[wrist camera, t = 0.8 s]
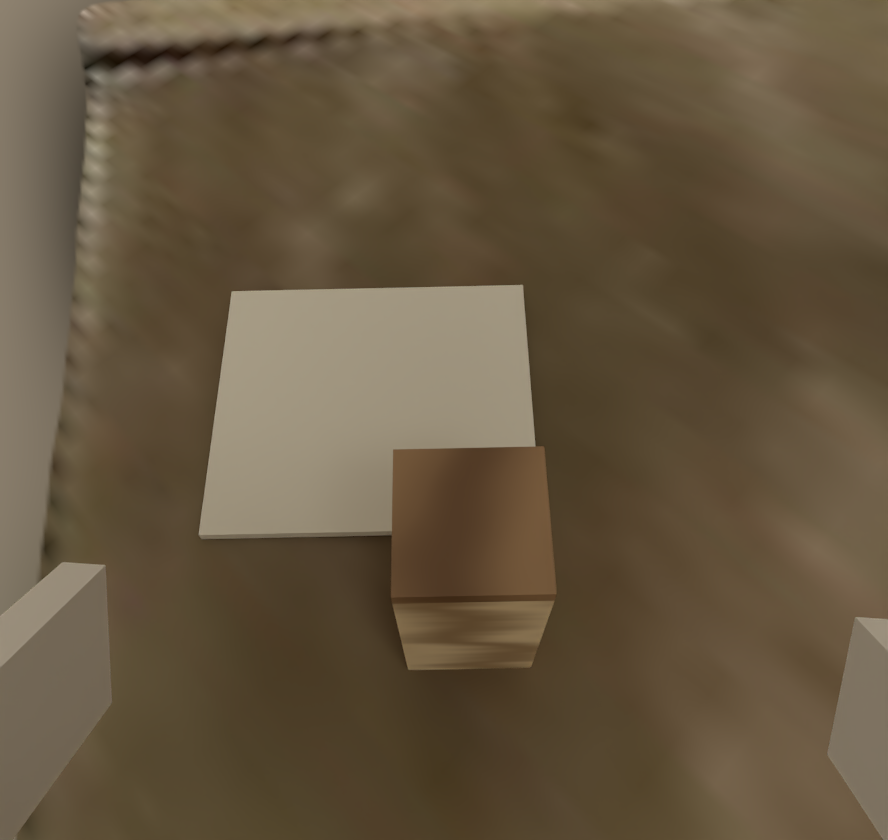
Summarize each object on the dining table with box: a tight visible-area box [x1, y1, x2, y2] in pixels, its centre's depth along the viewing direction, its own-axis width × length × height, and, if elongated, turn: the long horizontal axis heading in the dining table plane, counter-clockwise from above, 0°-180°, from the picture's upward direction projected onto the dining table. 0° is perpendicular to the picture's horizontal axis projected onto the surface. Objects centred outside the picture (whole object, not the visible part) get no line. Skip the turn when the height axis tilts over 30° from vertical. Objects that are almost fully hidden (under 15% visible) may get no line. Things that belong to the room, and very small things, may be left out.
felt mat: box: [199, 285, 535, 539], centre depth 47 cm, size 18×16×1 cm
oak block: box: [391, 446, 557, 670], centre depth 36 cm, size 6×6×12 cm
